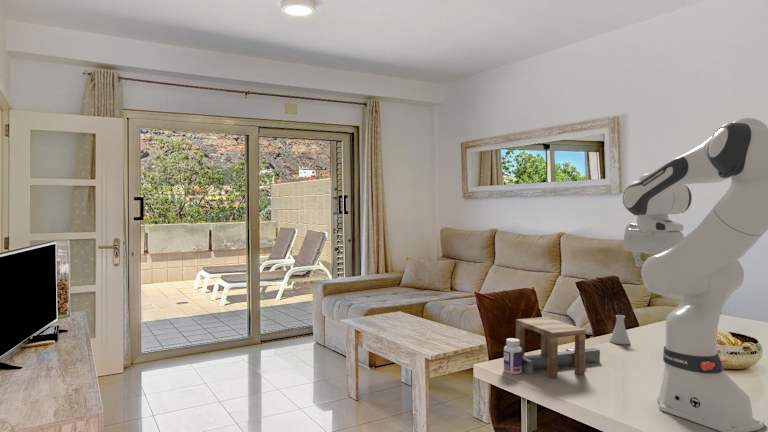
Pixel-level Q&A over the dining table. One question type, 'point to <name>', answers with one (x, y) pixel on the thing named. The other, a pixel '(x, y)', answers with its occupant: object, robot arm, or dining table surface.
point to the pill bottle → (513, 356)
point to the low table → (553, 341)
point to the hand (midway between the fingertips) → (651, 267)
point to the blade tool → (564, 360)
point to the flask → (620, 332)
